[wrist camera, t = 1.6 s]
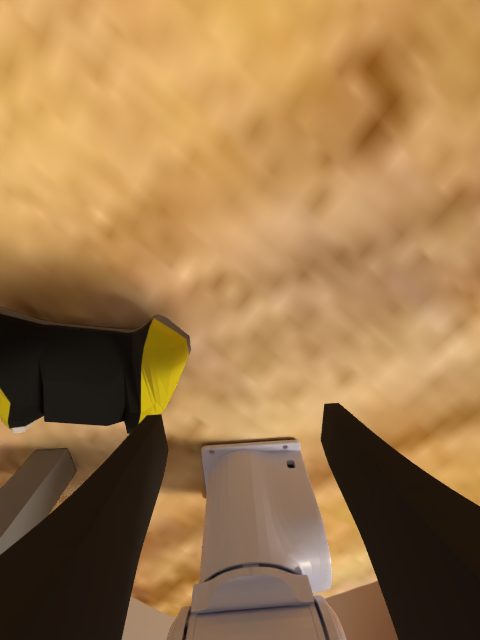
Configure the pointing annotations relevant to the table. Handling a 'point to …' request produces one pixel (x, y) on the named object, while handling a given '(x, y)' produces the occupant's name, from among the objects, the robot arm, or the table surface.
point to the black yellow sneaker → (86, 371)
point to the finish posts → (33, 493)
